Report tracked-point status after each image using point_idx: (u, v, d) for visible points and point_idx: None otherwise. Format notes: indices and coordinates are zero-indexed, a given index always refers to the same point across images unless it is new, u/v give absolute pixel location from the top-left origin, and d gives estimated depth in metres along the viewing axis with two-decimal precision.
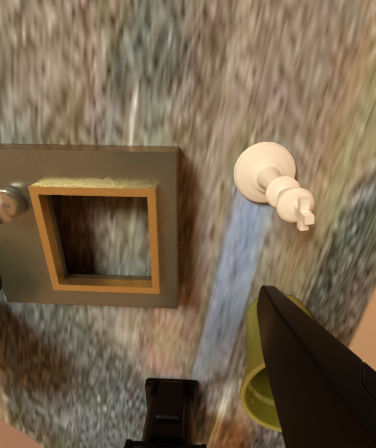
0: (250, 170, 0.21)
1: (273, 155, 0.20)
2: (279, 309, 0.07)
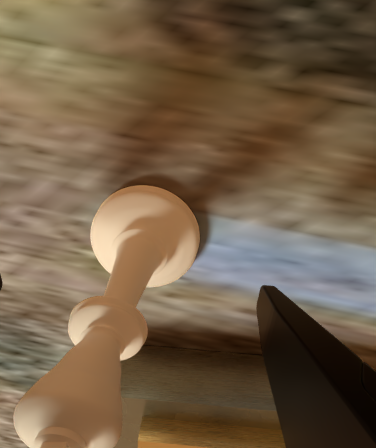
0: None
1: (105, 237, 0.11)
2: (279, 309, 0.07)
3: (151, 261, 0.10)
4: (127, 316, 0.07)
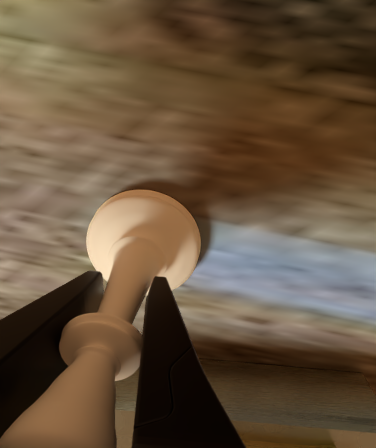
0: None
1: (101, 244, 0.11)
2: (150, 298, 0.07)
3: (149, 271, 0.09)
4: (123, 335, 0.06)
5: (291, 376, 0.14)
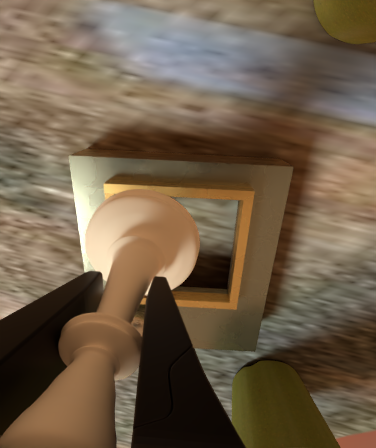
0: None
1: (100, 244, 0.11)
2: (149, 298, 0.07)
3: (148, 270, 0.09)
4: (122, 335, 0.06)
5: (224, 156, 0.18)
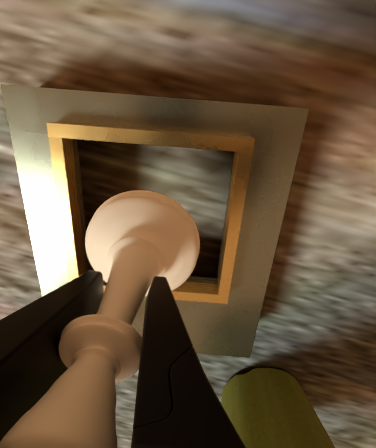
0: None
1: (100, 245, 0.11)
2: (149, 298, 0.07)
3: (149, 272, 0.09)
4: (123, 336, 0.06)
5: None
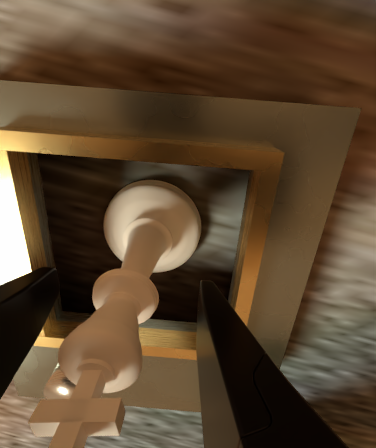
0: None
1: (116, 227, 0.12)
2: (205, 303, 0.07)
3: (159, 245, 0.11)
4: (142, 284, 0.08)
5: None
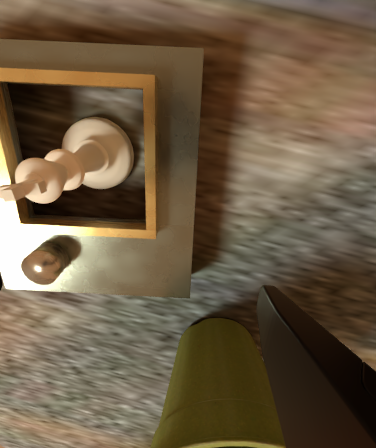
0: (90, 175, 0.18)
1: (70, 150, 0.18)
2: (279, 309, 0.07)
3: (95, 155, 0.16)
4: (71, 157, 0.13)
5: None
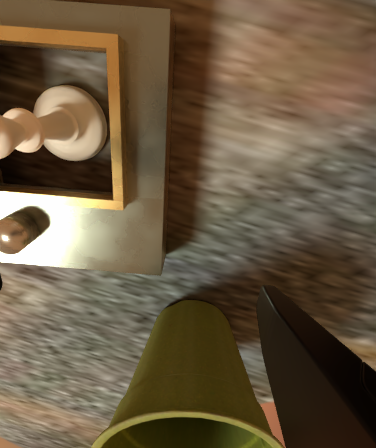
0: (61, 146, 0.18)
1: None
2: (279, 309, 0.07)
3: (63, 122, 0.16)
4: (29, 116, 0.13)
5: None
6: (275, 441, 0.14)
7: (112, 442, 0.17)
